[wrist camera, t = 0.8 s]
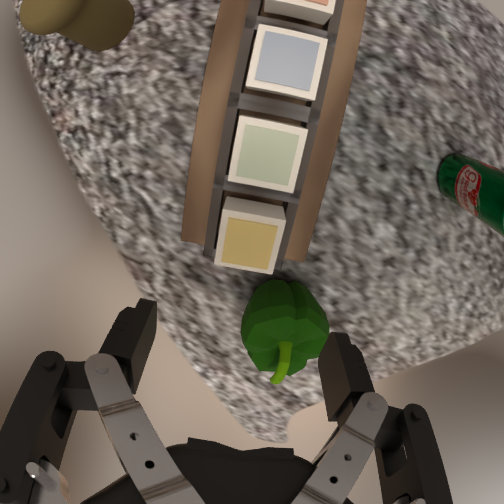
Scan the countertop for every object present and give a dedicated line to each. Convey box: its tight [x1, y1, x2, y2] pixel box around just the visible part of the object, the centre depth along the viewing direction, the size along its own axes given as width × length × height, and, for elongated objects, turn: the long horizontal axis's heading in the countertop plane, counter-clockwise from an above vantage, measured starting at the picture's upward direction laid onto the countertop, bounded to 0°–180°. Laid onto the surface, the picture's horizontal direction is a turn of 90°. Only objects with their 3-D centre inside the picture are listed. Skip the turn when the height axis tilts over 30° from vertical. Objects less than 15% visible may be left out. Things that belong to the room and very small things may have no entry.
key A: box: [228, 115, 308, 193], centre depth 20 cm, size 4×4×3 cm
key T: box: [246, 24, 328, 101], centre depth 17 cm, size 4×4×3 cm
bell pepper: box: [241, 279, 329, 384], centre depth 28 cm, size 8×8×10 cm
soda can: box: [438, 153, 504, 237], centre depth 20 cm, size 5×5×12 cm
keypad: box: [181, 0, 367, 269], centre depth 22 cm, size 12×27×4 cm, turn 169°
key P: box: [214, 196, 286, 275], centre depth 23 cm, size 4×4×3 cm
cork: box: [19, 0, 135, 51], centre depth 15 cm, size 6×6×11 cm
